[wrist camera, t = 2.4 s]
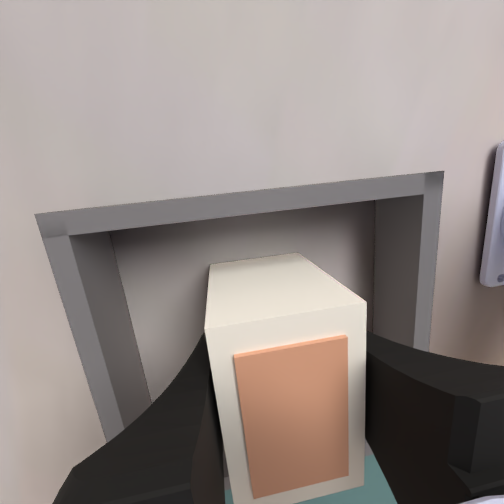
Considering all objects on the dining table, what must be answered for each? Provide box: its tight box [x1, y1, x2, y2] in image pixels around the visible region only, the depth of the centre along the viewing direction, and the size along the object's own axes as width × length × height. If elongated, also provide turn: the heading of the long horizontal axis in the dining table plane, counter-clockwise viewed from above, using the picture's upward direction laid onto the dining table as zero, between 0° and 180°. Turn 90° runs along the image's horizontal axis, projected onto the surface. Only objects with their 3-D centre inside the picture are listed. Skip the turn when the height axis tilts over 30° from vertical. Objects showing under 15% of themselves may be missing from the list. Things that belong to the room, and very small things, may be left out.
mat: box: [225, 454, 397, 504], centre depth 17 cm, size 13×9×1 cm
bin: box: [35, 171, 444, 490], centre depth 12 cm, size 15×14×3 cm
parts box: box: [204, 252, 367, 504], centre depth 10 cm, size 4×7×6 cm, turn 6°
